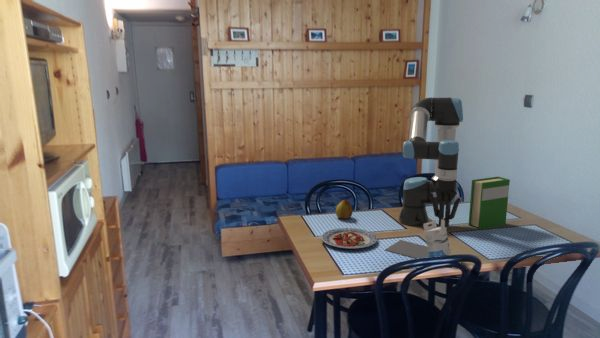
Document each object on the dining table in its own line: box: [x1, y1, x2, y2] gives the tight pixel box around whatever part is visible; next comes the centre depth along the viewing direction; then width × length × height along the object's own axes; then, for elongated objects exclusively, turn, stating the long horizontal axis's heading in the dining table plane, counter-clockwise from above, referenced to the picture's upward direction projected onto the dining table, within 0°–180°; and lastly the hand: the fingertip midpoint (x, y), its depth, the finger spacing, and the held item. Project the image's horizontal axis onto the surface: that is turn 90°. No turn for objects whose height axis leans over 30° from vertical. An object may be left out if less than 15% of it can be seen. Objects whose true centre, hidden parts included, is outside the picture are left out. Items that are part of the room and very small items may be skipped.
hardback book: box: [468, 176, 511, 231], centre depth 223 cm, size 18×7×24 cm, turn 114°
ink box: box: [422, 220, 452, 257], centre depth 185 cm, size 8×5×15 cm, turn 125°
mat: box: [384, 239, 430, 260], centre depth 193 cm, size 19×15×1 cm
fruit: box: [335, 197, 353, 220], centre depth 237 cm, size 9×9×12 cm
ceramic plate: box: [320, 227, 378, 250], centre depth 204 cm, size 26×26×3 cm
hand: (443, 233), depth 183 cm, fingers closed
